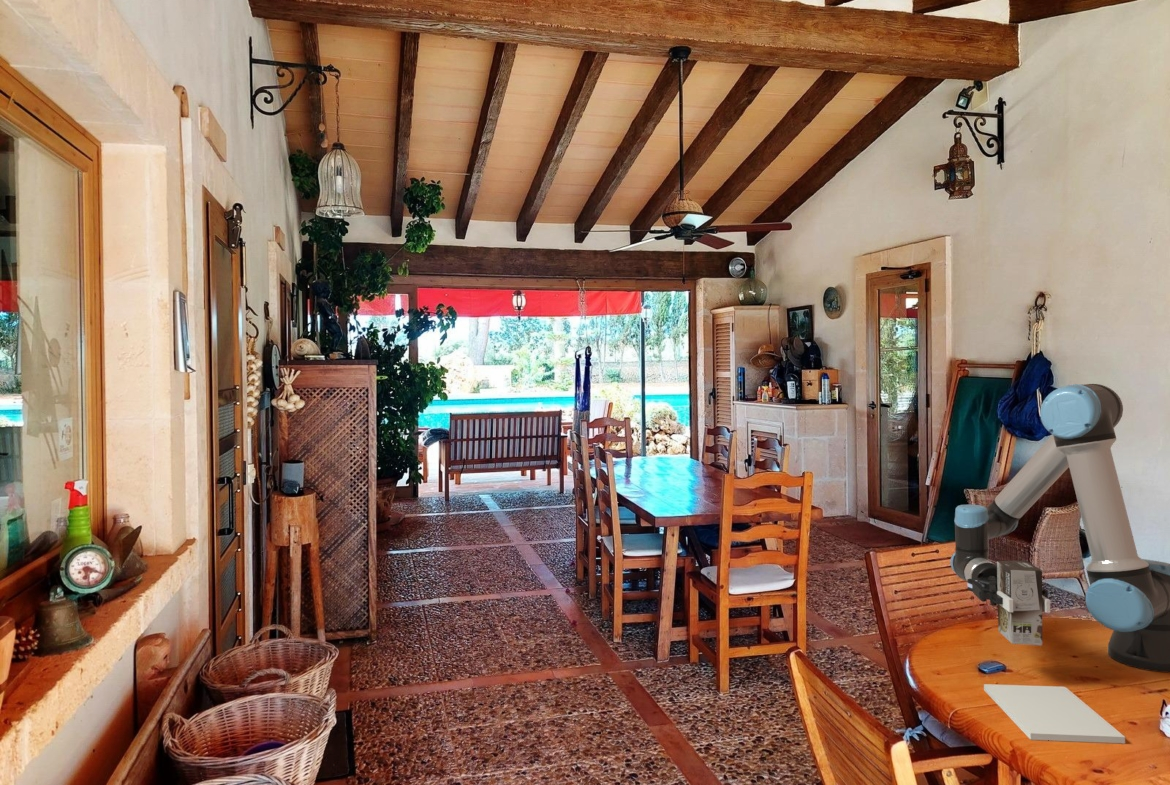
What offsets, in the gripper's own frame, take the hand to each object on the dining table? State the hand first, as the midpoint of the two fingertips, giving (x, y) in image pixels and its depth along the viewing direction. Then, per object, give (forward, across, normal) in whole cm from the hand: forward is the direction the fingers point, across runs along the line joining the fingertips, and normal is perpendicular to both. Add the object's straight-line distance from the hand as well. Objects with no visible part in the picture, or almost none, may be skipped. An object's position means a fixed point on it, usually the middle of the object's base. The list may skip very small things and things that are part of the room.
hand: (1029, 606), depth 163 cm
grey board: (+13, +2, -18) cm, 22 cm away
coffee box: (-5, 0, -9) cm, 10 cm away
